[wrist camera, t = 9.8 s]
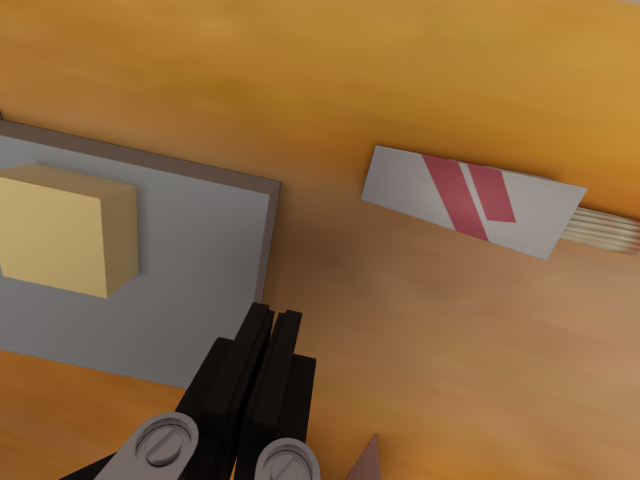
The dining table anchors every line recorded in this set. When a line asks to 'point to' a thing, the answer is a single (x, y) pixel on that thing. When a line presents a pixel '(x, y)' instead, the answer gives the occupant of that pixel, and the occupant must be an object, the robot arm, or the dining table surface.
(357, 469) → the greeting card
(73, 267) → the tile mustard
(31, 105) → the dining table surface
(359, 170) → the dining table surface
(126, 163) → the slate board
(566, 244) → the dining table surface
